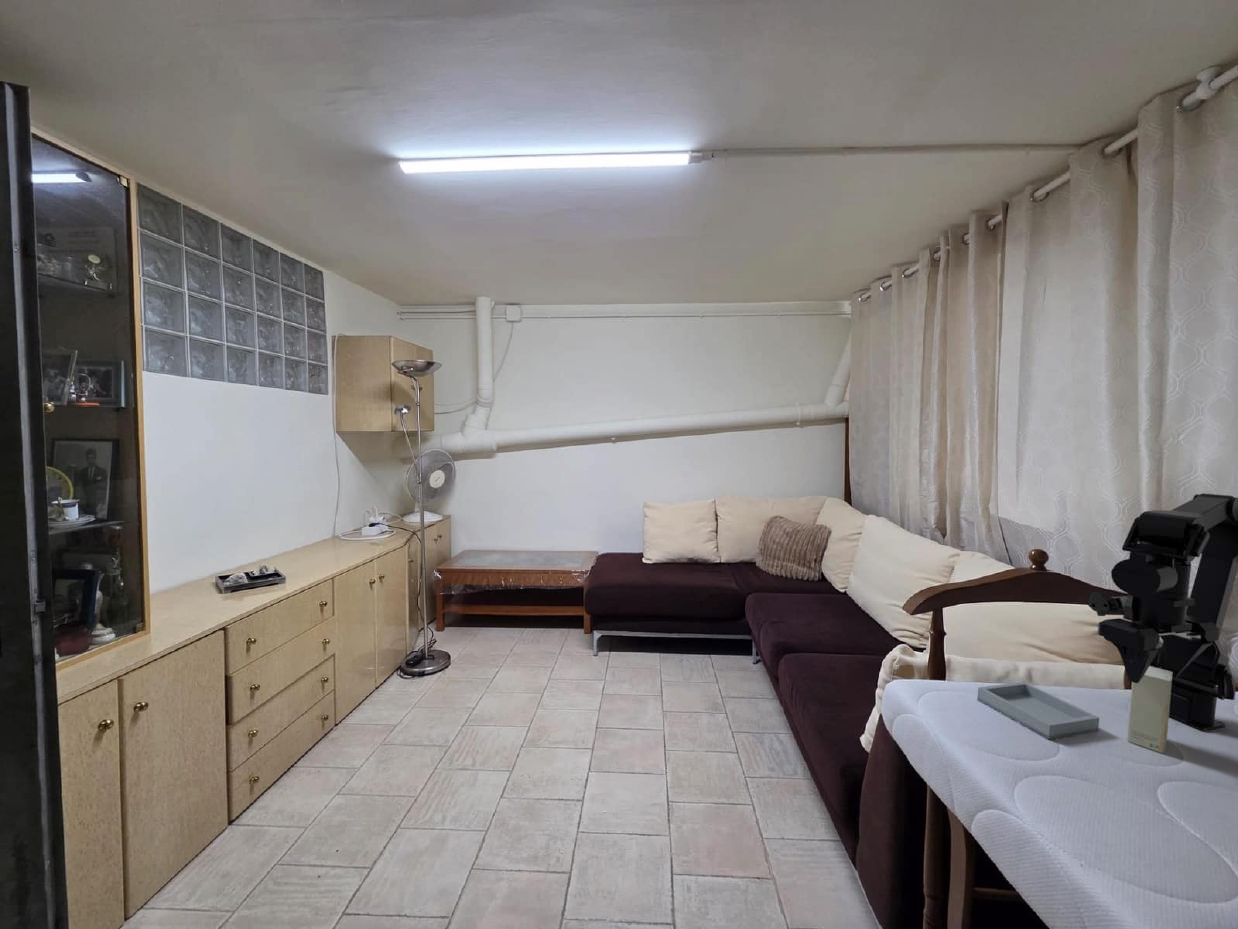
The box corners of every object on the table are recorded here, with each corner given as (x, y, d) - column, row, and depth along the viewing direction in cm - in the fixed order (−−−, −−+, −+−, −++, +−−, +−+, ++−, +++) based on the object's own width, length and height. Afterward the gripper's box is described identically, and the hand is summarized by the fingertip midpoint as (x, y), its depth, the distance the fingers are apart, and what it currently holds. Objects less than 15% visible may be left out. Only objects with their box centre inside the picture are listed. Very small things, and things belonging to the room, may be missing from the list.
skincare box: (1163, 755, 80) (1171, 682, 80) (1125, 741, 84) (1132, 671, 83) (1166, 740, 84) (1174, 671, 84) (1129, 728, 88) (1136, 661, 87)
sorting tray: (1023, 694, 98) (1024, 681, 98) (1098, 731, 86) (1099, 717, 86) (977, 700, 96) (978, 687, 95) (1048, 739, 83) (1049, 725, 83)
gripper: (1140, 572, 92) (1131, 653, 94) (1066, 577, 88) (1058, 662, 89) (1225, 591, 82) (1215, 682, 83) (1146, 598, 77) (1136, 694, 78)
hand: (1152, 679), depth 83 cm, fingers open, 9 cm apart
